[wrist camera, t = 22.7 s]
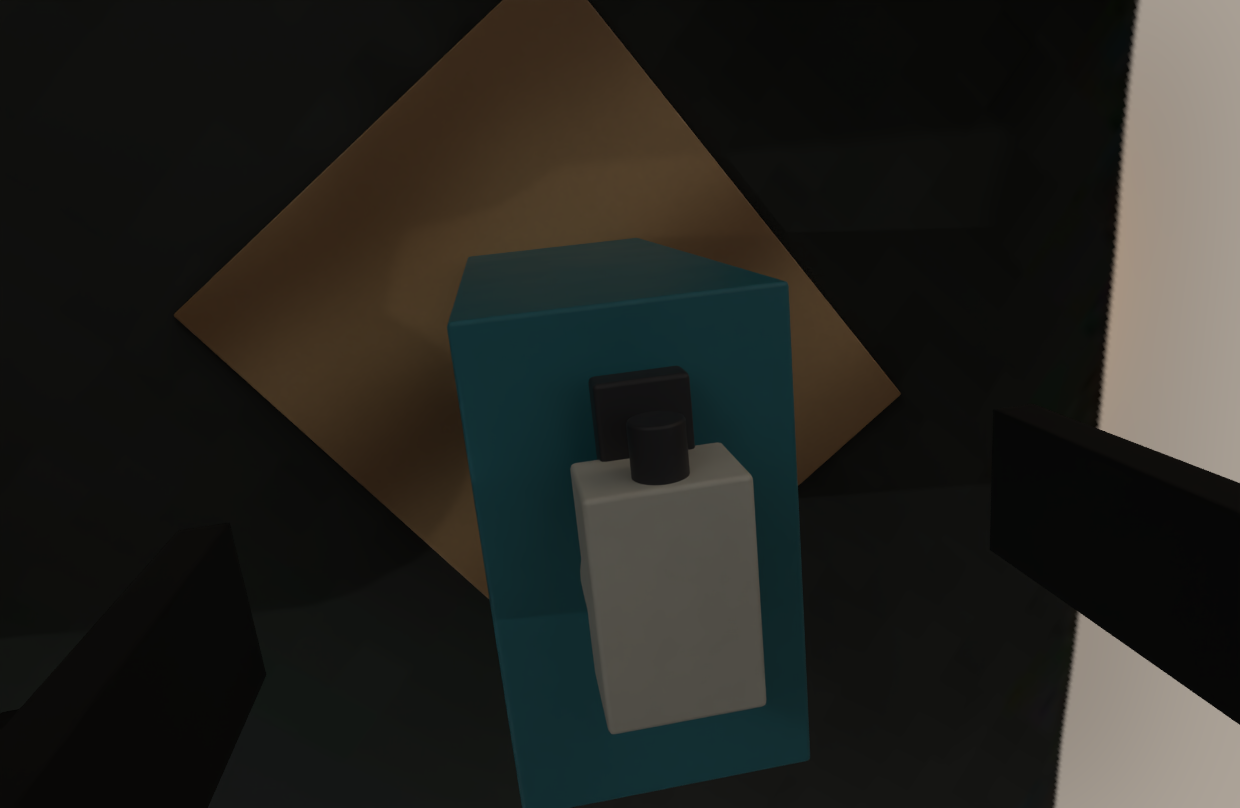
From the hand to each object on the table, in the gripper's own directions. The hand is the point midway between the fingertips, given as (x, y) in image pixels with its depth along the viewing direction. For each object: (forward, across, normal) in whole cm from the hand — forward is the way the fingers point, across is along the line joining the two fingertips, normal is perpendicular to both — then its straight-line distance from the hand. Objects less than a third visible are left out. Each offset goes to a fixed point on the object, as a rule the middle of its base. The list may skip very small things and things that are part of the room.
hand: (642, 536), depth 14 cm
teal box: (+7, 0, -6) cm, 9 cm away
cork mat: (+17, 0, 0) cm, 17 cm away
